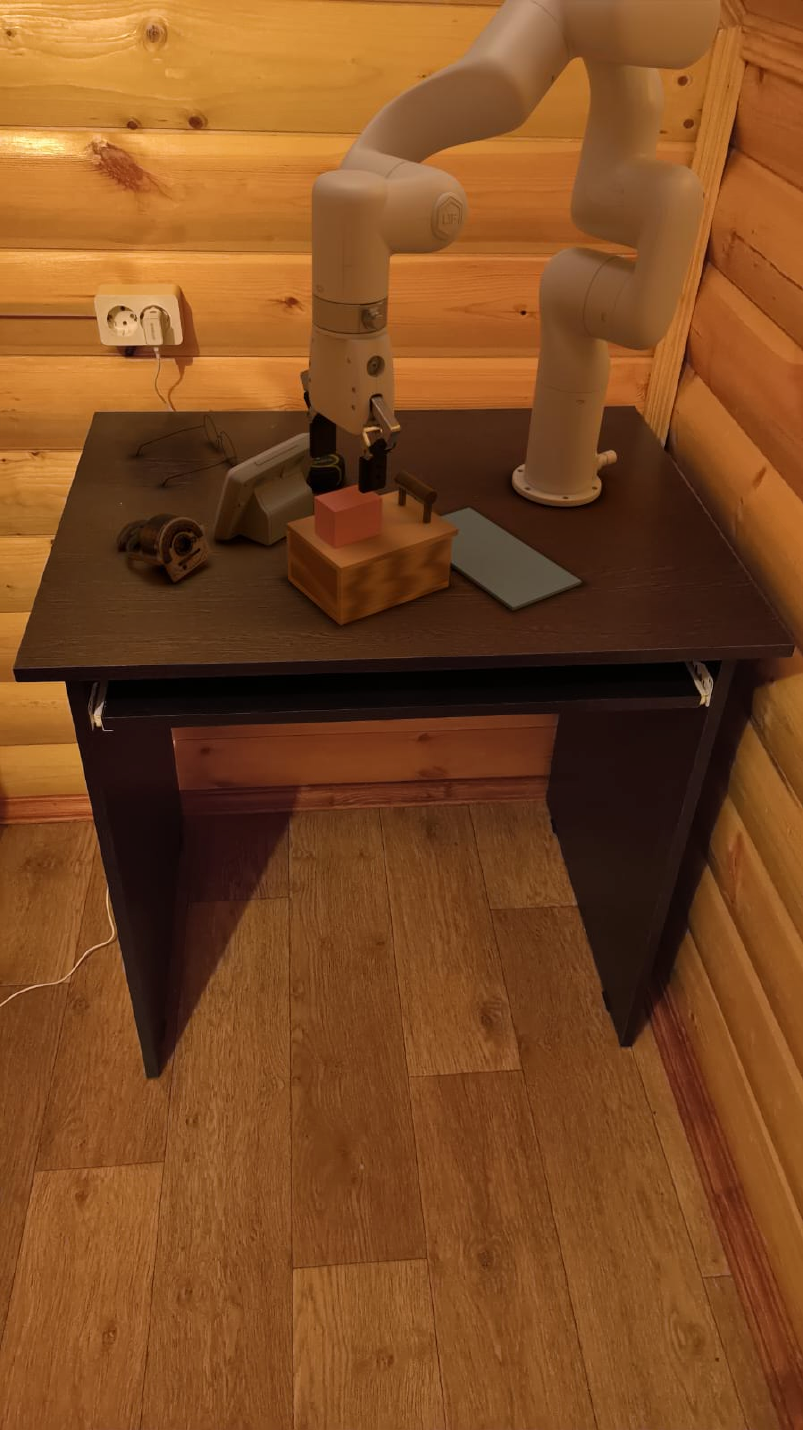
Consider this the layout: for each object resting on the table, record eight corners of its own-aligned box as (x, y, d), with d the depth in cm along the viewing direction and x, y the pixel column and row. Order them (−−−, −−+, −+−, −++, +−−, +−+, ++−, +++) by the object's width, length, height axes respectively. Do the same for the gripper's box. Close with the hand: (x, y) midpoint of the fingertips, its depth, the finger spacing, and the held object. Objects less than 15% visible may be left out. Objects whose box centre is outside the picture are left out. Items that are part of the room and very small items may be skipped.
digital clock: (296, 493, 140) (294, 419, 133) (339, 518, 135) (339, 443, 129) (197, 530, 131) (189, 453, 125) (239, 559, 126) (233, 480, 120)
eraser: (361, 518, 120) (361, 482, 117) (381, 534, 117) (382, 497, 114) (314, 532, 117) (314, 496, 114) (334, 549, 114) (334, 512, 111)
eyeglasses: (164, 490, 139) (160, 455, 136) (133, 453, 148) (129, 420, 144) (240, 474, 144) (238, 440, 141) (206, 439, 152) (204, 407, 149)
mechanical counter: (127, 555, 116) (209, 522, 118) (96, 497, 123) (173, 467, 126) (146, 601, 121) (224, 569, 123) (115, 542, 129) (189, 513, 131)
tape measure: (334, 468, 147) (334, 444, 144) (352, 489, 142) (352, 464, 140) (289, 475, 144) (288, 450, 142) (305, 497, 140) (305, 471, 137)
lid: (400, 495, 127) (402, 457, 123) (458, 535, 120) (461, 496, 116) (286, 529, 119) (284, 489, 116) (340, 573, 112) (340, 533, 109)
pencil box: (393, 545, 131) (395, 496, 126) (448, 586, 123) (452, 537, 119) (287, 579, 123) (286, 529, 119) (340, 625, 116) (340, 574, 112)
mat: (469, 510, 139) (469, 507, 138) (581, 584, 125) (581, 580, 125) (403, 531, 133) (403, 528, 133) (512, 610, 120) (513, 607, 120)
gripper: (432, 332, 98) (421, 495, 108) (334, 283, 108) (332, 436, 119) (367, 345, 94) (362, 512, 105) (272, 292, 105) (277, 449, 115)
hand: (346, 471), depth 112 cm, fingers open, 9 cm apart
